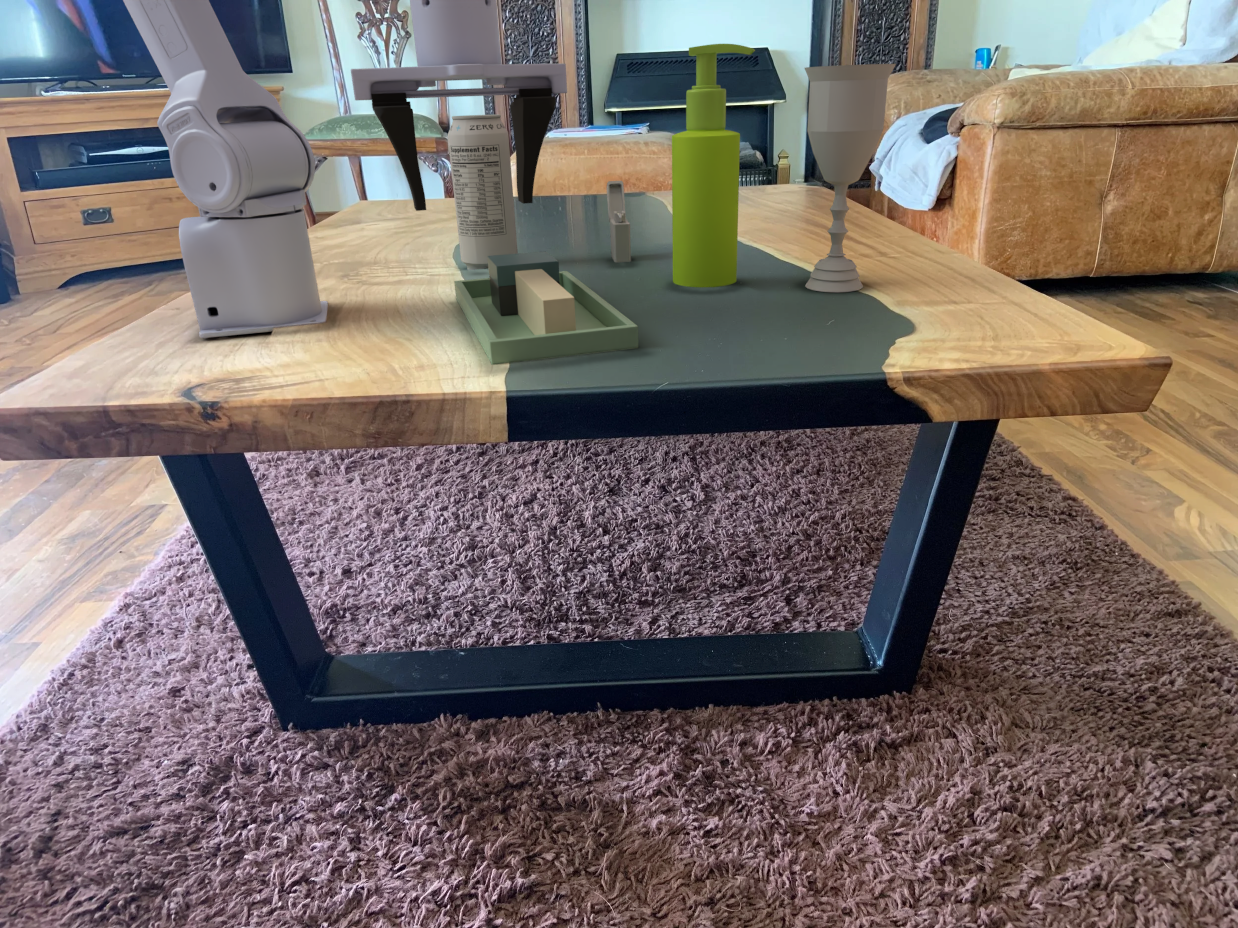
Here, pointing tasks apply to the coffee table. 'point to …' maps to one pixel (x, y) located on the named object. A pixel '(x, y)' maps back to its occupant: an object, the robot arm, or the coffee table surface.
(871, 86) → the chalice
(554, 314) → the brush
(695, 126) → the soap dispenser
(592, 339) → the tray
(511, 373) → the coffee table surface
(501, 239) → the energy drink can
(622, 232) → the lighter
